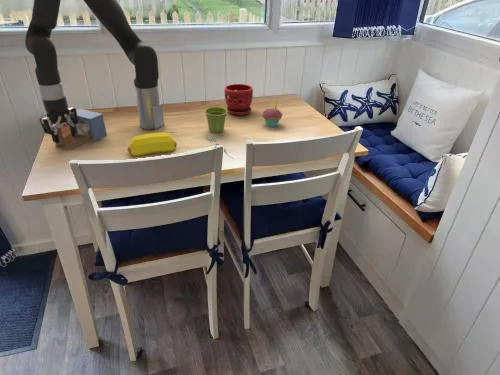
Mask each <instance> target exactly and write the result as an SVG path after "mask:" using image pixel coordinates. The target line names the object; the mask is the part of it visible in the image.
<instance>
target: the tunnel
mask: <svg viewBox="0 0 500 375" xmlns="http://www.w3.org/2000/svg"><path fill="white" fill-rule="evenodd" d="M75 109H76V111H77V118H78V121H79V120H85V121H89V125H90V129H91V134H92V138H93V139H92V141H93V142H97V141H98V140H101V139H103V138H105V137H107V134H108V132H107V128H106V124H105V121H104V115H103V113H100V112H96V111H93V110H88V109H83V108H75ZM68 117H69V118H70V114H69V116H68ZM74 128H75V132H76V134H77V133H78V131H77V127H76V124H75V126H74Z"/></svg>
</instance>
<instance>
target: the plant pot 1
mask: <svg viewBox="0 0 500 375" xmlns="http://www.w3.org/2000/svg"><path fill="white" fill-rule="evenodd" d="M204 113H205V115H206V120H207V124H208V130H209V132H210V133H211V134H212V133H213V134H218V133H222V132H224V130H225V122H226V116H227V113H229V112H228V111H227V108H225V107H222V106H211V107H208V108H206V109H204Z"/></svg>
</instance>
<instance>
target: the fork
mask: <svg viewBox="0 0 500 375" xmlns="http://www.w3.org/2000/svg"><path fill="white" fill-rule="evenodd" d="M206 138H207V139H208V141H209V142H210V143H216V142H218V140H217V139H216V137H215V136H214V135H213V134H206ZM217 144H218V145H217V146H219V145H221V144H220V143H217ZM224 150H225V151H226V150H227V148H225V147H224ZM224 150H223V151H224ZM225 151H224V152H225Z"/></svg>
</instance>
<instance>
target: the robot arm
mask: <svg viewBox="0 0 500 375" xmlns="http://www.w3.org/2000/svg"><path fill="white" fill-rule="evenodd" d="M61 1H62V0H33V4H32V5H33V6H32V12H31V20H30V22H29V23H28V24H29V25H28V28H27V31H26V34H25V40H24V44H25V49H26V50H27V51H28V52H29V53H30V54H31V55H33V58H34V62H35V69H34V72H35V77H36V80H37V82H38V89H39V93H40V97H41V100H42V103H43V106H44V110H45V111H46V116H45V117H40V118H39V123H40V124H41V127H42V129H43V132H44V134H47V135H50V136H51V139H52V142H53V143H54V144H55V143H57V144H59V143H60V140H59V137H58V134H57V130H58V128H59V125H60V124H62V123H64V124H68V125H69V126H70V130H71V134H72V137H74V136H75V134H76V132H75V128H74V126H75V124H78V118H77V111H76V109H77V108H75V107H72V106H69V104H68V101H67V96H66V92H65V88H64V85H63V83H62V80H61V75H60V72H59V69H58V65H59V64H58V55H57V48H56V45H55V43H54V42H53V41H52V40H51V39H50V38H51V34H52V31H53V30H55V29H56V27H57V24H58V18H59V13H60V7H61ZM83 2H84V4H86V5H87V7H88V9H89V10H90V11H91V13H93V15H94V16H95V17H96V19H97V20H98V21H99V22H100V23H101V25H102V26H103V27H104V28H105V29H106V30H107V32H108V33H110V34H111V35H112V37H113V38H114V39H115V40H116V42H117V43H118V44H119V46H120V48H121V50H123V52H124V54H125V56H126V57H127V59H128V60H129V62H130V63H131V64H132V65H133V66H134V71H135V72H134V73H135V77H134V78H133V84H134V85H133V86H134V93H135V99H136V105H137V112H138V113H137V114H138V118H139V125H140V128H142V129H144V130H158V129H159V128H161V127H163V126H165V120H164V109H163V104H162V103H161V101H160V100H161V99H160V92H159V79H160V78H159V76H160V75H159V62H158V61H159V60H158V56H157V52H156V50H155V49H154V48H153V47H152V46H150V45H149V44H146V43H145V42H143V40H142V39H141V38H140V37H139V36H138V35H137V34H136V33H135V31H134V30H133V29H132V27H131V25H130V23H129V22H128V18H127V16H126V14H125V12H124V10H123V8H122V7H121V5H120V3H119V2H118V0H83ZM69 114H70V118H69V117H68V116H69Z"/></svg>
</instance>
